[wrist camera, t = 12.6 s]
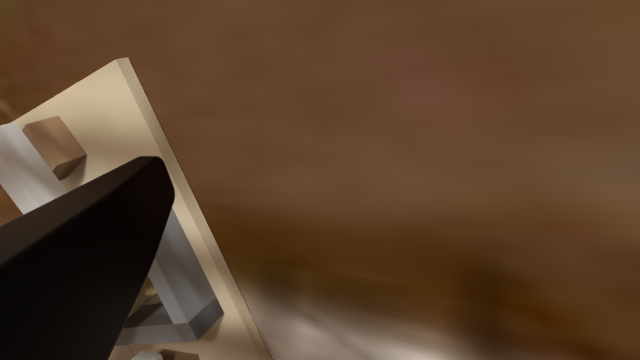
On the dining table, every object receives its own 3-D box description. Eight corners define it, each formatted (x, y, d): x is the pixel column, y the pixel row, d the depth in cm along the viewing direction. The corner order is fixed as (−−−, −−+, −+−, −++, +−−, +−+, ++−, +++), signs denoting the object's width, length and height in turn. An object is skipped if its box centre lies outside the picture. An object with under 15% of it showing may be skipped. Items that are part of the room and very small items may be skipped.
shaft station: (287, 392, 28) (247, 456, 24) (164, 389, 34) (116, 439, 31) (127, 57, 24) (47, 71, 20) (18, 122, 30) (-60, 142, 26)
